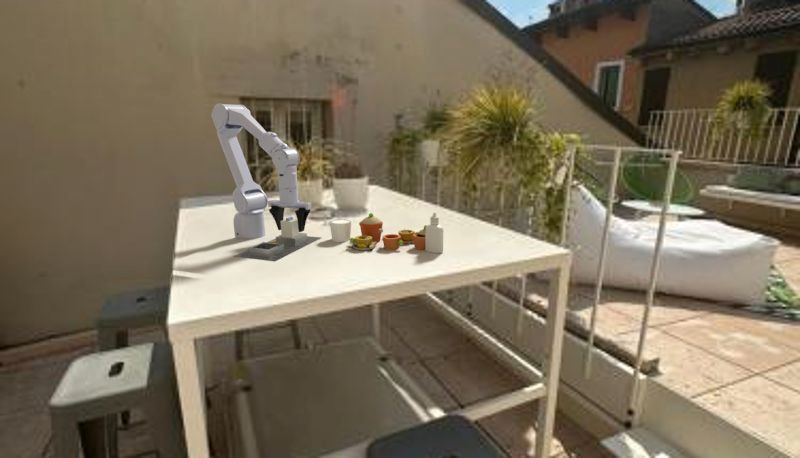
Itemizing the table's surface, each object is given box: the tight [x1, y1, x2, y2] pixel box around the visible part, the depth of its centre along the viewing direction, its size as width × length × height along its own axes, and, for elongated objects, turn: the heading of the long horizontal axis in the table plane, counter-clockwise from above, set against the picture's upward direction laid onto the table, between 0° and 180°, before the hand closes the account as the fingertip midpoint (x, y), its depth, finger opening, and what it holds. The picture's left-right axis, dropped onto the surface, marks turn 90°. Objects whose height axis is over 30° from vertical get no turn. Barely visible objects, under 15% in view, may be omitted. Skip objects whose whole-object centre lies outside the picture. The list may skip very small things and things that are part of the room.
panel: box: [232, 232, 322, 262], centre depth 130 cm, size 14×26×3 cm, turn 161°
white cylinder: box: [329, 219, 352, 243], centre depth 137 cm, size 7×7×7 cm
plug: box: [280, 216, 301, 238], centre depth 135 cm, size 4×4×8 cm
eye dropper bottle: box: [424, 211, 444, 255], centre depth 127 cm, size 4×6×12 cm
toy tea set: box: [349, 212, 428, 251], centre depth 135 cm, size 26×16×10 cm, turn 88°
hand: (291, 230), depth 135 cm, fingers open, 7 cm apart
